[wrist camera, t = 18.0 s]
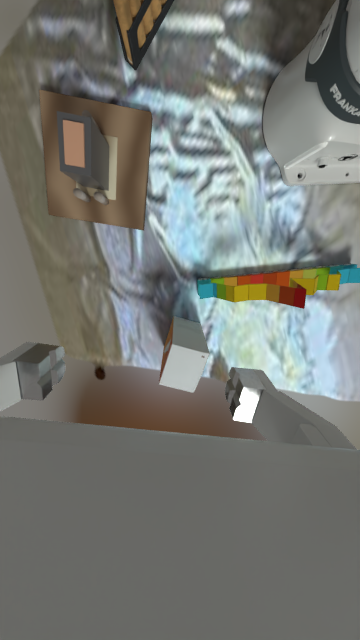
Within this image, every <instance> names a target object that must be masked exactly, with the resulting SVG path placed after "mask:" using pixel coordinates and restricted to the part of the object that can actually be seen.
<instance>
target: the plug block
mask: <svg viewBox="0 0 360 640" xmlns="http://www.w3.org/2000/svg"><path fill="white" fill-rule="evenodd" d="M57 126H58V144H59V162H60V171H61V172H63V173H64V174H66V175H67V176H69V177H70V178H72V179H73V180H75V181H76V182H78V183H79V184H81V185H82V186H84V187H89V188H94V189H100V190H106V191H109V148H110V146H109V145H108V143H107V142H106V140H105V138H104V137H103V135H102V134H101V132H100V131H99V129H98V128H97V126H96V125H95V123H94V122H93V120H92V119H91V118H90V117H85V116H80V115H75V114H70V113H64V112H59V111H57Z"/></svg>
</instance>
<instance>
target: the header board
mask: <svg viewBox="0 0 360 640" xmlns="http://www.w3.org/2000/svg"><path fill="white" fill-rule="evenodd" d="M39 92H40V106H41V119H42V132H43V145H44V158H45V171H46V184H47V198H48V211H49V215H53V216H59V217H65V218H71V219H77V220H84V221H90V222H96V223H102V224H108V225H115V226H121V227H127V228H133V229H139V230H144V223H145V210H146V196H147V183H148V170H149V157H150V143H151V130H152V114H151V112H148V111H143V110H138V109H133V108H128V107H123V106H118V105H113V104H108V103H103V102H98V101H94V100H89V99H84V98H79V97H74V96H69V95H64V94H59V93H54V92H49V91H44V90H39ZM57 111H59V112H64V113H70V114H75V115H80V116H85V117H90V118H91V119H92V120H93V122H94V123H95V125H96V126H97V128H98V129H99V131H100V132H101V134H102V135H103V137H104V138H105V140H106V142H107V143H108V145H109V146H110V148H109V191H106V190H100V189H94V188H89V187H84V186H82V185H81V184H79V183H78V182H76V181H75V180H73V179H72V178H70V177H69V176H67V175H66V174H64V173H63V172H61V171H60V162H59V144H58V126H57Z"/></svg>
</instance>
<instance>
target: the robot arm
mask: <svg viewBox="0 0 360 640" xmlns="http://www.w3.org/2000/svg"><path fill="white" fill-rule="evenodd" d="M263 133H264V138H265V142H266V145H267V148H268V150H269V152H270V154H271V155H272V157H273V158H274V159H275V161H276V162H277V164H278V165H279V167H280V171H281V175H282V179H283V182H284V183H285V185H287V186H304V185H324V184H343V183H360V0H336V1H335V3H334V4H333V5H332V7H331V9H330V10H329V12H328V13H327V15H326V17H325V19H324V20H323V22H322V24H321V26H320V28H319V30H318V31H317V33H316V35H315V36H314V38H313V39H312V40H311V41H310V43H309V44H308V45H307V46H306V47H305V48H304V49H303V50H302V51H301V52H300V53H299V54H298V55H297V56H296V57H295V58H294V59H293V60H292V61H290V62H289V63H288V64H287V65H286V66H285V67H284V68H283V70H282V71H281V72H280V73H279V75H278V76H277V78H276V79H275V81H274V83H273V85H272V87H271V89H270V91H269V94H268V96H267V100H266V103H265V108H264V114H263ZM298 174H299V175H300V179H298V177H297V175H298ZM64 355H65V353H64V348H63V347H62V346H54V345H48V344H40V343H32V342H26V343H24V344H22V345H21V346H19V347H18V348H16V349H14V350H13V351H11V352H9V353H8V354H6V355H4V356H3V357H1V358H0V411H2V410H4V409H5V408H8V407H9V406H11V405H13V404H15V403H17V402H18V401H20V400H21V399H31V400H44V399H45V398H46V396H47V395H48V394H49V393H50V392H51V391H52V386H53V385H55V384H57V383H59V382H60V380H61V379H62V377H63V375H64V373H65V362H64V361H63V360H62V358H63V356H64ZM229 376H230V378H231V379H230V380H228V381H227V383H226V388H225V395H226V400H227V401H228V402H229V403H230V404H231V405H230V412H231V414H232V417H233V420H239V421H246V422H252V424H253V425H254V426H255V427H256V429H258V431H259V432H260V433H261V434H262V435H263V436H264V437H265V438H266V439H267V440H268V441H258V440H248V439H237V438H226V437H215V436H205V435H194V434H183V433H174V432H163V431H152V430H142V429H131V428H121V427H110V426H99V425H89V424H78V423H68V422H57V421H47V420H36V419H26V418H15V417H5V416H0V640H360V450H357V449H356V448H355V447H354V446H353V445H352V443H351V442H350V441H349V440H348V439H347V438H346V437H345V436H344V435H343V433H342V432H341V431H340V430H339V429H338V428H337V427H336V426H335V425H333V424H331V423H330V422H328V421H327V420H325V419H323V418H322V417H320V416H319V415H317V414H316V413H314V412H312V411H311V410H309V409H308V408H306V407H305V406H303V405H301V404H300V403H298V402H296V401H295V400H293V399H292V398H290V397H289V396H287V395H286V394H284V393H282V392H280V391H277V389H276V388H275V387H274V385H273V384H272V382H271V381H270V380H269V378H268V377H267V376H266V374H265V373H264V371H262V370H256V369H245V368H234V367H232V368H231V370H230V372H229Z"/></svg>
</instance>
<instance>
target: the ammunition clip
mask: <svg viewBox="0 0 360 640" xmlns="http://www.w3.org/2000/svg"><path fill="white" fill-rule="evenodd" d="M113 1H114V5H115V9H116V13H117V17H116V23H117V27H118V31H119V35H120V40H121V44H122V48H123V53H124V57H125V60H126V61H127V62H128V63H129V64H130V65H131V66H132V67H133V69H134V70H136V69H137V68H138V66H139V64H140V62H141V60H142V58H143V57H144V55H145V53H146V51H147V49H148V47H149V45H150V44H151V42H152V40H153V38H154V36H155V34H156V33H157V31H158V29H159V27H160V25H161V23H162V21H163V20H164V18H165V16H166V14H167V12H168V10H169V9H170V7H171V5H172V3H173V1H174V0H113Z"/></svg>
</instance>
